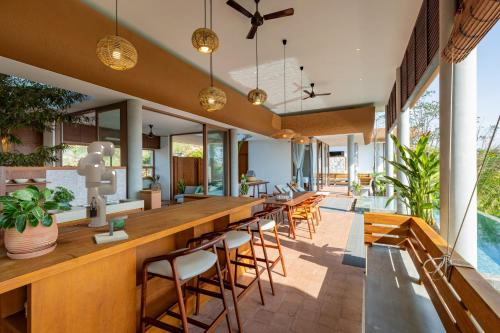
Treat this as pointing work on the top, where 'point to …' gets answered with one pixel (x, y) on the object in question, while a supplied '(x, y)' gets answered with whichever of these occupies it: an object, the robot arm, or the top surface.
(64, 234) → the top surface
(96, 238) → the post stand
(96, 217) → the bead
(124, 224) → the food container
